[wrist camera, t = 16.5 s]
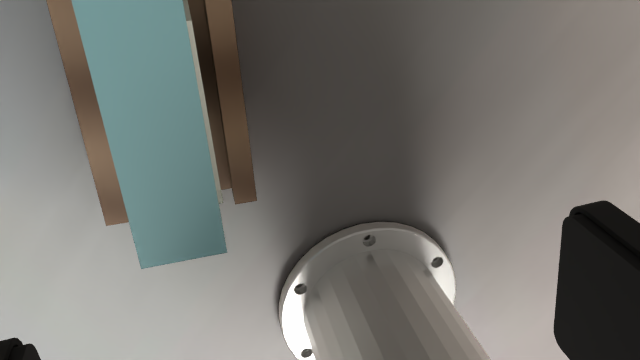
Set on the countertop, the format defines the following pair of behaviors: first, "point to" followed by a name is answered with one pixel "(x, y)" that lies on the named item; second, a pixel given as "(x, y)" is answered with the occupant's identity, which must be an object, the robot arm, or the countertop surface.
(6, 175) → the countertop surface
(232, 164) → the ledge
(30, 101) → the countertop surface
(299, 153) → the countertop surface
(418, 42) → the countertop surface
